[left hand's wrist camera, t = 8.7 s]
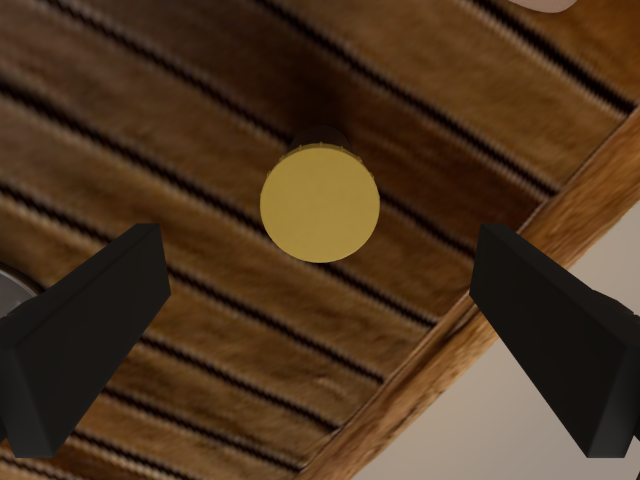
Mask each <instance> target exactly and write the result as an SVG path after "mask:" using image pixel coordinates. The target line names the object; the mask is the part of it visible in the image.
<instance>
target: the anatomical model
mask: <svg viewBox="0 0 640 480" xmlns="http://www.w3.org/2000/svg"><path fill="white" fill-rule="evenodd" d="M509 1H511V2H513V3H516V4H518V5H520V6H523V7H526V8H529V9H532V10H536V11H541V12H548V13H554V12H560V11H563V10H565V9H567V8H569V7H570V6H571V5H572V4H574V3H575V2H576V1H577V0H509Z"/></svg>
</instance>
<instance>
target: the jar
mask: <svg viewBox="0 0 640 480" xmlns="http://www.w3.org/2000/svg"><path fill="white" fill-rule="evenodd" d="M320 142H322V143H323V144H331V145H336V146H338V147H340V146H343V148H344V149H346V150H347V151H349V152H351V153H352V154H354V152H353V150H352V148H351V146H350V144H349V143H348V141H347V139H346V137H345V136H344V135H343V134H342V133H341V132H340V131H339V130H337V129H336V128H334V127H332V126H329V125H325V124H315V125H311V126H308V127H306V128H304V129H302V130H301V131H300V132H299V133H298V134H297V135H296V136H295V137H294V139H293V140H292V142H291V144H290V146H289V148H288V150H287V152H286V154H287V153H289V152H290V151H292V150H294V149H296V148H298V147H299V145H302V146H304V145H309V144H317V143H320ZM286 154H285V155H286ZM285 155H284V156H285ZM354 155H355V154H354Z"/></svg>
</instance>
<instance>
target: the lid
mask: <svg viewBox="0 0 640 480" xmlns="http://www.w3.org/2000/svg"><path fill="white" fill-rule="evenodd" d="M373 179H374V176H373V175H372V173H371V172H370V173H369V171H368V170H367V168H366V166H365V165H364V164H363V163H362V160H361V159H360V157H359V156H358V157H356V156H355V155H354V154H352V153H351V152H349V151H347V150H346V149H344V148H343V146H340V147H338V146H336V145H331V144H323V143H322V142H320V143H317V144H309V145H304V146H302V145H299V147H298V148H296V149H294V150H292V151H290V152H289V153H287V154H286V155H285V156H284V155H282V156H281V158H280V160H279V161H278V162H277V164H276V165H275V166H274V167H273V169H272V171H271V170H270V171H269V172H268V174H267V179H266V181H265V183H264V186H263V189H262V192H261V194H260V196H261V199H260V211H261V217H262V221H263V224H264V226H265V229H266V231H267V232H268V234H269V236H270V237H271V239H272V240H273V241H274V242H275V243H276V244H277V245H278V246H279V247H280V248H281V249H282V250H283V251H285V252H286V253H288V254H290V255H292V256H294V257H296V258H298V259H301V260H304V261H310V262H330V261H335V260H338V259H341V258H344V257H346V256H348V255H350V254H352V253H353V252H355V251H356V250H357V249H359V248H360V247H361V246H362V245H363V244H364V243H365V242H366V241H367V239H368V238H369V237H370V235H371V234H372V232H373V230H374V228H375V226H376V223H377V220H378V216H379V205H380V202H379V198H380V196H379V194H378V190H377V187H376V184H375V182H374V180H373Z"/></svg>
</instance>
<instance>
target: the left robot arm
mask: <svg viewBox="0 0 640 480" xmlns="http://www.w3.org/2000/svg"><path fill="white" fill-rule="evenodd" d="M170 295H171V291H170V285H169V279H168V273H167V267H166V261H165V255H164V249H163V243H162V237H161V231H160V225H159V224H135V225H134V226H133V227H131V228H130V229H129V230H127V231H126V232H125V233H123V234H122V235H121V236H119V237H118V238H117V239H115V240H114V241H112V242H111V243H110V244H108V245H107V246H106V247H104V248H103V249H102V250H100V251H99V252H98V253H96V254H95V255H94V256H92V257H91V258H89V259H88V260H87V261H85V262H84V263H83V264H81V265H80V266H79V267H77V268H76V269H75V270H73V271H72V272H71V273H69V274H68V275H67V276H65V277H64V278H62V279H61V280H60V281H58V282H57V283H56V284H54V285H53V286H52V287H50V288H49V289H48V290H46V291H45V292H43V291H42V290H41V289H40V288H39V287H38V286H37V285H36V284H35V283H34V282H33V281H31V280H30V279H29V278H27V277H26V276H24V275H23V274H21V273H20V272H18V271H16V270H15V269H13V268H11V267H9V266H7V265H5V264H2V263H0V443H1V442H2V441H3V440H4V439H5V438H6V437H7V438H8V441H9V443H10V446H11V448H12V450H13V453H14V455H15V457H16V458H53V457H54V456H55V454H56V453H57V452H58V450H59V449H60V448H61V446H62V445H63V443H64V442H65V441H66V439H67V438H68V436H69V435H70V434H71V432H72V431H73V430H74V428H75V427H76V425H77V424H78V423H79V421H80V420H81V418H82V417H83V416H84V414H85V413H86V411H87V410H88V409H89V407H90V406H91V405H92V403H93V402H94V400H95V399H96V398H97V396H98V395H99V393H100V392H101V391H102V389H103V388H104V387H105V385H106V384H107V382H108V381H109V380H110V378H111V377H112V375H113V374H114V373H115V371H116V370H117V369H118V367H119V366H120V364H121V363H122V362H123V360H124V359H125V357H126V356H127V355H128V353H129V352H130V351H131V349H132V348H133V346H134V345H135V344H136V342H137V341H138V339H139V338H140V337H141V335H142V334H143V333H144V331H145V330H146V328H147V327H148V326H149V324H150V323H151V321H152V320H153V319H154V317H155V316H156V314H157V313H158V312H159V310H160V309H161V308H162V306H163V305H164V303H165V302H166V301H167V299H168V298H169V296H170ZM469 295H470V296H471V298H472V299H473V301H474V302H475V303H476V305H477V306H478V308H479V309H480V310H481V312H482V313H483V314H484V316H485V317H486V319H487V320H488V321H489V323H490V324H491V326H492V327H493V328H494V330H495V331H496V332H497V334H498V335H499V337H500V338H501V339H502V341H503V342H504V343H505V345H506V346H507V348H508V349H509V350H510V352H511V353H512V355H513V356H514V357H515V359H516V360H517V362H518V363H519V364H520V366H521V367H522V369H523V370H524V371H525V373H526V374H527V375H528V377H529V378H530V380H531V381H532V382H533V384H534V385H535V386H536V388H537V389H538V391H539V392H540V393H541V395H542V396H543V398H544V399H545V400H546V402H547V403H548V405H549V406H550V407H551V409H552V410H553V411H554V413H555V414H556V416H557V417H558V418H559V420H560V421H561V423H562V424H563V425H564V427H565V428H566V430H567V431H568V432H569V433H570V435H571V436H572V438H573V439H574V441H575V442H576V443H577V445H578V446H579V448H580V449H581V450H582V452H583V453H584V454H585V456H586V457H587V458H624V457H625V455H626V453H627V450H628V448H629V445H630V443H631V441H632V438H633V436H635V437H636V438H637V439H638V440H639V441H640V317H639V316H638V315H634V313H633V312H632V311H631V310H630V309H628V308H627V307H625V306H624V305H623V304H621V303H620V302H618V301H617V300H615V299H613V298H611V297H608V296H606V295H604V294H602V293H600V292H598V291H595V290H592V289H591V288H590V287H588V286H587V285H586V284H584V283H583V282H582V281H580V280H579V279H578V278H576V277H575V276H573V275H572V274H571V273H569V272H568V271H567V270H565V269H564V268H563V267H561V266H560V265H559V264H557V263H556V262H555V261H553V260H552V259H551V258H549V257H548V256H546V255H545V254H544V253H542V252H541V251H540V250H538V249H537V248H536V247H534V246H533V245H532V244H530V243H529V242H528V241H526V240H525V239H523V238H522V237H521V236H519V235H518V234H517V233H515V232H514V231H513V230H511V229H510V228H509V227H507V226H506V225H505V224H481V225H480V231H479V237H478V243H477V249H476V255H475V261H474V267H473V273H472V279H471V285H470V291H469ZM636 480H640V472H639V474H638V477H637V479H636Z"/></svg>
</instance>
